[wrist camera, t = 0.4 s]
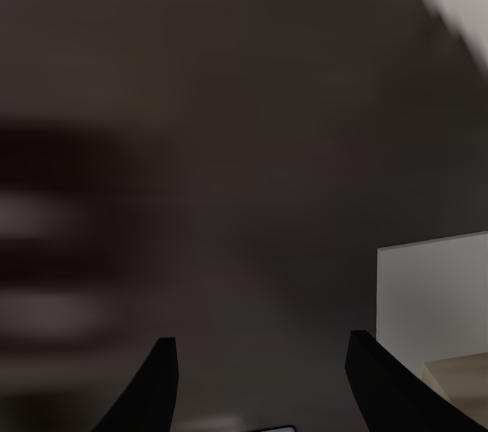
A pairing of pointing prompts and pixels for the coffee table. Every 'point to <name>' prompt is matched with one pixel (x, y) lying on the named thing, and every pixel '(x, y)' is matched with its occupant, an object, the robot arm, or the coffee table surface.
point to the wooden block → (461, 383)
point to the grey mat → (433, 299)
